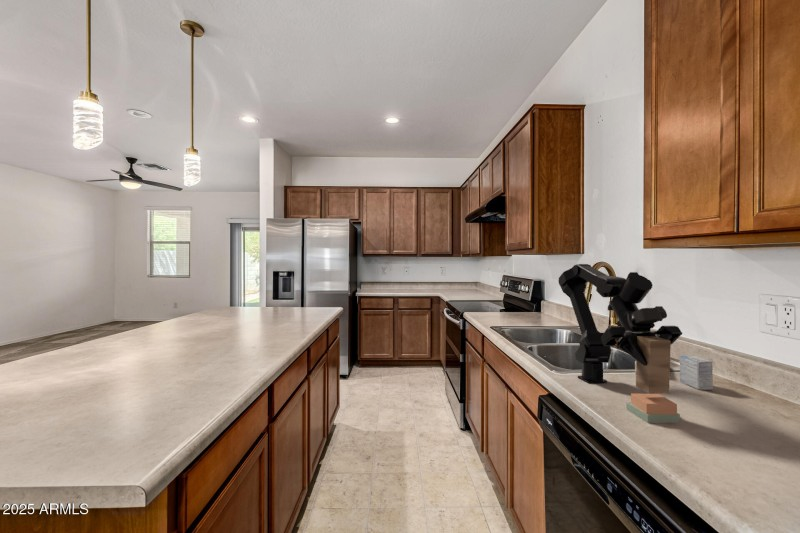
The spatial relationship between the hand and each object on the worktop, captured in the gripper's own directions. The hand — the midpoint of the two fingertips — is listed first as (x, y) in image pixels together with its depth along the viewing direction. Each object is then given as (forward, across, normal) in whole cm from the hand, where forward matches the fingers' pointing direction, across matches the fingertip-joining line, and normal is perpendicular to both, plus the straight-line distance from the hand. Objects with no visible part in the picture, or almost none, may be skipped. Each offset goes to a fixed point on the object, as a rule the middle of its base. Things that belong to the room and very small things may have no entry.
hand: (656, 364), depth 92 cm
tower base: (+9, 0, +11) cm, 14 cm away
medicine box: (-6, +29, +26) cm, 39 cm away
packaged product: (-17, +27, +38) cm, 49 cm away
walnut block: (+4, 0, +6) cm, 7 cm away
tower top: (+7, 0, +9) cm, 11 cm away
